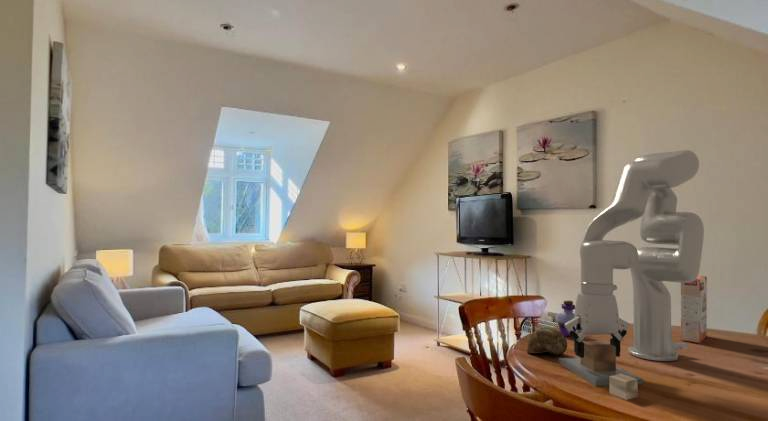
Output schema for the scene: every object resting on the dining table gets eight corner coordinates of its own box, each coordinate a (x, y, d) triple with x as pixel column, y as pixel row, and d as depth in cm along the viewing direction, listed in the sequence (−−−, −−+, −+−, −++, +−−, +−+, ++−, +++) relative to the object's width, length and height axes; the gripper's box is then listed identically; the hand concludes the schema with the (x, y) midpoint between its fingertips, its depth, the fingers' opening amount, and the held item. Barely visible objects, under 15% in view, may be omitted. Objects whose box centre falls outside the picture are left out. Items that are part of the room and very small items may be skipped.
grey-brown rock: (570, 353, 133) (570, 326, 133) (562, 361, 125) (562, 332, 126) (532, 347, 140) (532, 321, 140) (522, 354, 132) (522, 327, 132)
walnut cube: (601, 363, 119) (601, 340, 120) (615, 370, 113) (615, 346, 114) (580, 364, 119) (580, 341, 119) (593, 371, 113) (593, 347, 113)
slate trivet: (599, 361, 126) (599, 356, 126) (642, 384, 108) (642, 378, 108) (558, 362, 124) (558, 357, 124) (595, 385, 106) (595, 380, 106)
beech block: (621, 391, 103) (621, 373, 104) (637, 397, 100) (637, 379, 100) (609, 394, 102) (609, 376, 102) (625, 400, 98) (625, 381, 98)
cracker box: (702, 344, 144) (701, 279, 145) (680, 340, 148) (679, 277, 149) (708, 336, 154) (707, 275, 155) (687, 333, 158) (686, 274, 159)
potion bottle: (579, 340, 148) (579, 304, 148) (552, 336, 153) (552, 301, 153) (584, 335, 155) (584, 300, 156) (558, 331, 160) (557, 297, 160)
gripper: (619, 287, 121) (619, 350, 121) (558, 287, 119) (558, 352, 119) (637, 291, 114) (638, 359, 113) (572, 292, 112) (573, 361, 111)
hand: (597, 355), depth 116 cm, fingers open, 9 cm apart
